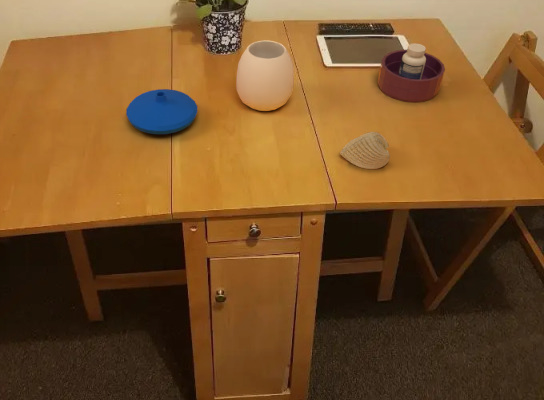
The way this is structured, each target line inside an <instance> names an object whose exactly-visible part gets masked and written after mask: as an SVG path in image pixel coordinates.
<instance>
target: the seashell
mask: <svg viewBox="0 0 544 400" xmlns="http://www.w3.org/2000/svg"><path fill="white" fill-rule="evenodd" d="M388 148H389V142H388V141H387V139H386V138H385V136H383V135H382V134H381V133H380V132H377V131H370V132H369V131H368V132H365V133H363V134H361V135H359V136H357V137H355V138H353V139H350V141H349V142H348V143H346V144H345V145H344V147H343V148H341V151H340V152H339V154H340V156H342V157H343V158H344V159H345V160H346V161H348V162H349V163H351V164H352V165H354V166H356V167H358V168H362V169H366V170H377V169H380V168H383V167H385V166H386V165H387V164H388V163H389V162H390V158H391V154H390V152H389V150H388Z"/></svg>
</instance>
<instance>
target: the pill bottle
mask: <svg viewBox="0 0 544 400" xmlns="http://www.w3.org/2000/svg"><path fill="white" fill-rule="evenodd" d="M406 50H407V52H406V53H405V54H404V55H403V57H402V61H401V66H400V70H399V74H398V75H399V76H401V77H405V78H409V79H419V80H421V78H422V74H423V70H424V66H425V63H426V57H425V56H424V54H425V53H426V50H427V48H426V46H425V45H423V44H421V43H418V42H417V43H410V44H409V45H408V46H407V49H406Z"/></svg>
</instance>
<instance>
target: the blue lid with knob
mask: <svg viewBox="0 0 544 400" xmlns="http://www.w3.org/2000/svg"><path fill="white" fill-rule="evenodd" d="M197 114H198V105H197V103H196V101H195V100H194V99H193V98H192V97H191V96H190V95H188V94H187V93H185V92H182V91H179V90H176V89H169V88H161V89H160V88H159V89H154V90H148V91H146V92H143V93H141V94H139V95H137V96H135V98H133V99H132V100H131V101H130V103H128V105H127V108H126V112H125V115H126V117H127V120H128V121H129V123H130V125H132V126H133V128H135V129H137V130H138V131H140V132H143V133H146V134H150V135H169V134H174V133H177V132H180V131H183V130H184V129H186V128H188V127H190V126H191V124H192V123H194V121H195V119H196V117H197Z"/></svg>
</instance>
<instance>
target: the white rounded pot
mask: <svg viewBox="0 0 544 400" xmlns="http://www.w3.org/2000/svg"><path fill="white" fill-rule="evenodd" d="M294 67H295V66H294V63H293V59H292V56H291V55H290V53H289V51H288V49H287V48H286V46H285V45H284V44H282V43H280V42H278V41H274V40H267V39H266V40H264V39H263V40H256V41H254V42H252V43H249V44H248V46H247V47H246V48H245V49H244V52H243V53H242V54H241V57H240V59H239V61H238V64H237V69H236V78H235V79H236V80H235V83H236V86H235V87H236V89H235V90H236V93H237V94H238V97H239V99H240V100H241V102H242V103H243V104H244V105H246V106H248V107H249V108H251V109H252V110H255V111H258V112H259V111H260V112H270V111H275V110H277V109H279V108H281V107H283V106H284V105H286V103H287V102H288V101H289V100H290V97H291V96H292V94H293V92H294V84H295V83H294V82H295V79H294V78H295V74H294V73H295V69H294Z"/></svg>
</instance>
